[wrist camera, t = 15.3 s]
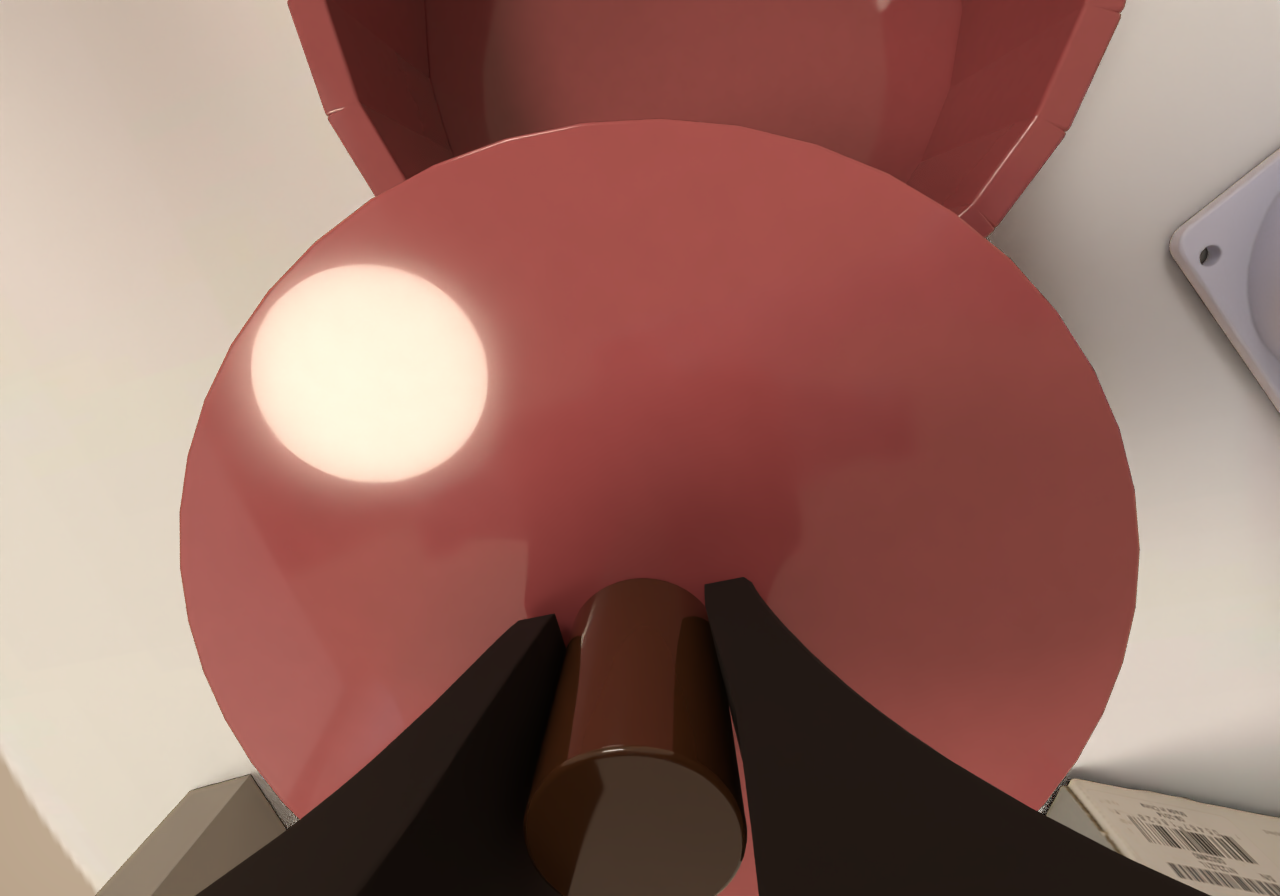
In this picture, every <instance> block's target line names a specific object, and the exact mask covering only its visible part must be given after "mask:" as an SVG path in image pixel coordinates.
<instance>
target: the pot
mask: <svg viewBox="0 0 1280 896" xmlns="http://www.w3.org/2000/svg"><path fill="white" fill-rule="evenodd" d="M1125 3H1126V0H288V1H287V4H288V7H289V10H290V13H291V16H292V18H293V21H294V24H295V27H296V30H297V33H298V36H299V39H300V41H301V44H302V47H303V50H304V53H305V56H306V59H307V62H308V64H309V67H310V70H311V73H312V76H313V79H314V82H315V85H316V87H317V90H318V93H319V96H320V99H321V102H322V105H323V108H324V110H325V113H326V115H327V116H328V120H329V122H330V124H331V125H332V127H333V129H334V130H335V132H336V133H337V135H338V137H339V138H340V140H341V142H342V143H343V145H344V146H345V148H346V150H347V151H348V153H349V155H350V156H351V158H352V159H353V161H354V163H355V164H356V166H357V168H358V169H359V171H360V172H361V174H362V176H363V177H364V179H365V181H366V182H367V184H368V185H369V187H370V189H371V190H372V192H373V194H374V195H375V197H376V196H378V195H379V194H381V193H383V192H385V191H387V190H389V189H390V188H392V187H394V186H396V185H398V184H399V183H401V182H403V181H405V180H407V179H409V178H410V177H412V176H414V175H416V174H418V173H420V172H421V171H423V170H425V169H427V168H429V167H430V166H432V165H434V164H436V163H439V162H442V161H445V160H447V159H450V158H453V157H456V156H458V155H461V154H464V153H466V152H469V151H472V150H475V149H477V148H480V147H483V146H486V145H488V144H491V143H494V142H497V141H499V140H502V139H505V138H509V137H514V136H518V135H523V134H528V133H533V132H538V131H543V130H548V129H552V128H557V127H562V126H567V125H572V124H577V123H582V122H599V121H617V120H635V119H653V118H665V119H676V120H687V121H698V122H709V123H720V124H731V125H741V126H745V127H749V128H753V129H757V130H761V131H765V132H769V133H774V134H778V135H782V136H786V137H790V138H794V139H798V140H803V141H807V142H811V143H815V144H818V145H820V146H823V147H825V148H828V149H830V150H833V151H835V152H838V153H840V154H843V155H845V156H847V157H850V158H852V159H855V160H857V161H860V162H862V163H865V164H867V165H870V166H872V167H875V168H877V169H879V170H882V171H884V172H887V173H889V174H891V175H892V176H894V177H896V178H897V179H899V180H901V181H902V182H904V183H906V184H907V185H909V186H911V187H913V188H914V189H916V190H918V191H919V192H921V193H923V194H924V195H926V196H928V197H929V198H931V199H933V200H934V201H936V202H938V203H939V204H941V205H943V206H945V207H946V208H948V209H950V210H951V211H953V212H954V213H955V214H957V215H958V216H959V217H960V218H962V219H963V220H964V221H965V222H966V223H968V224H969V225H970V226H971V227H972V228H974V229H975V230H976V231H977V232H979V233H980V234H981V235H982V236H983V237H985V238H986V237H987V236H989V235H990V234H991V233H992V232H993V231H994V228H995V227H997V226H998V225H999V223H1000V222H1001V221H1002V219H1003V218H1004V217H1005V215H1006V214H1007V213H1008V211H1009V210H1010V209H1011V207H1012V206H1013V205H1014V203H1015V202H1016V201H1017V199H1018V198H1019V197H1020V195H1021V194H1022V193H1023V191H1024V190H1025V189H1026V187H1027V186H1028V185H1029V183H1030V182H1031V181H1032V180H1033V178H1034V177H1035V176H1036V174H1037V173H1038V172H1039V170H1040V169H1041V168H1042V166H1043V165H1044V164H1045V162H1046V161H1047V160H1048V158H1049V157H1050V156H1051V154H1052V153H1053V152H1054V150H1055V149H1056V148H1057V146H1058V145H1059V144H1060V142H1061V141H1062V140H1063V138H1064V137H1065V134H1066V133H1065V132H1066V131H1068V129H1069V128H1070V127H1071V125H1072V122H1073V120H1074V118H1075V116H1076V114H1077V112H1078V109H1079V107H1080V105H1081V103H1082V101H1083V99H1084V96H1085V94H1086V92H1087V90H1088V88H1089V86H1090V83H1091V81H1092V79H1093V77H1094V75H1095V73H1096V70H1097V68H1098V66H1099V64H1100V62H1101V60H1102V57H1103V55H1104V53H1105V51H1106V49H1107V47H1108V44H1109V42H1110V40H1111V38H1112V36H1113V33H1114V31H1115V29H1116V27H1117V25H1118V23H1119V20H1120V18H1121V14H1120V13H1121V12H1122V10H1123V9H1124V7H1125Z"/></svg>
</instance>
